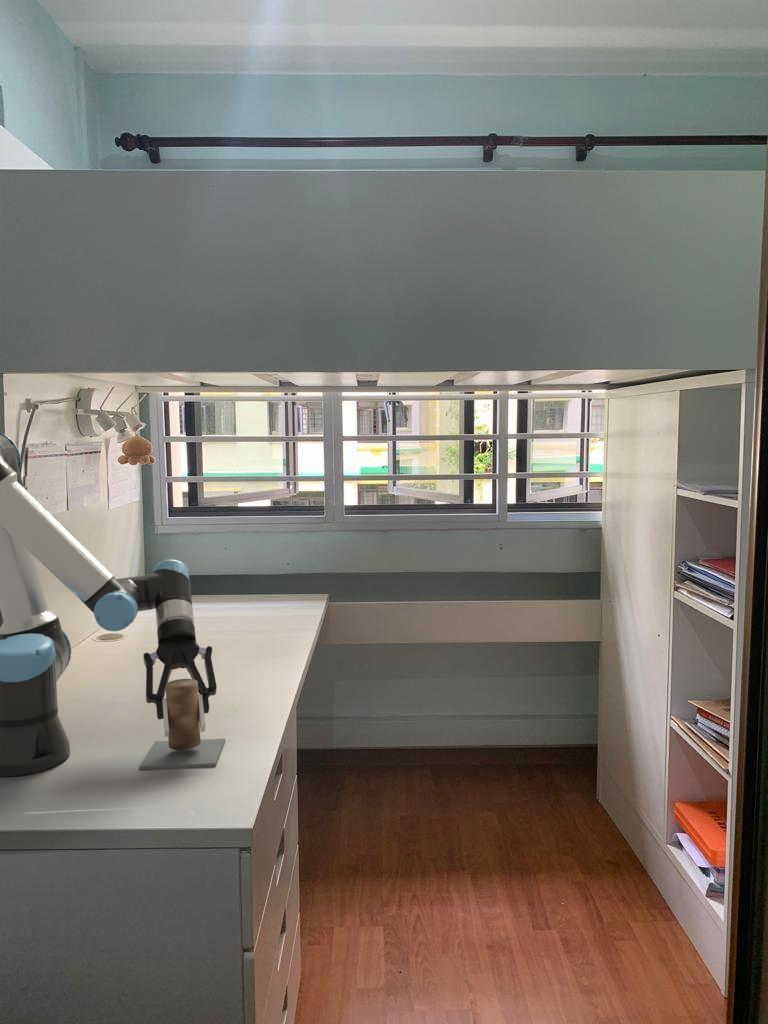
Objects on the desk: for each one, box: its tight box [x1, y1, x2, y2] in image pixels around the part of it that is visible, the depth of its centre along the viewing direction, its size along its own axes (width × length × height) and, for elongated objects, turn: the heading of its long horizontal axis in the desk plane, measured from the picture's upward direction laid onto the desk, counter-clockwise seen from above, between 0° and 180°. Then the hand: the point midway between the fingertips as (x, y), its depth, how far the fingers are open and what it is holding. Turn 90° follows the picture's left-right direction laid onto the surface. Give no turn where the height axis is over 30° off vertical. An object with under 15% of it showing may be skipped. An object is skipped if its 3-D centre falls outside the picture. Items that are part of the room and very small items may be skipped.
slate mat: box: [139, 738, 226, 770], centre depth 148 cm, size 14×12×1 cm
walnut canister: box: [165, 678, 201, 750], centre depth 147 cm, size 6×6×12 cm
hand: (185, 730), depth 144 cm, fingers closed on walnut canister, 6 cm apart
